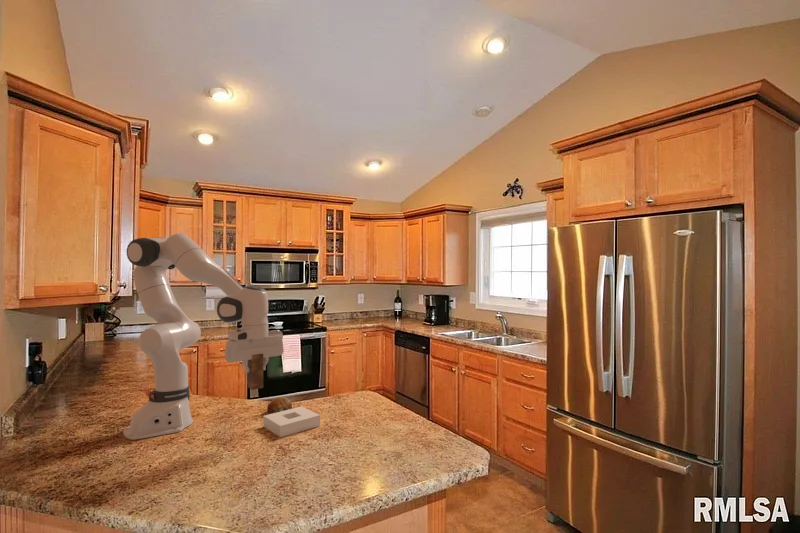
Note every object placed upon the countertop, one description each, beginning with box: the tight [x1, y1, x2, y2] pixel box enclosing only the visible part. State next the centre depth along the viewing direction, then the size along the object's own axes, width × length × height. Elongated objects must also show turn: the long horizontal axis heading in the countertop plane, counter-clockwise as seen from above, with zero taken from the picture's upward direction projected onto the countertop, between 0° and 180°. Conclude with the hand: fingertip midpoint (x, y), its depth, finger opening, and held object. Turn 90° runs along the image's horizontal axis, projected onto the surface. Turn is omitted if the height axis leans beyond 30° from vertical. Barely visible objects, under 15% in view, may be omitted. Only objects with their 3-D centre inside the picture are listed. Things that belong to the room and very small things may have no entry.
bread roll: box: [266, 396, 293, 415], centre depth 174 cm, size 10×10×8 cm
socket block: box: [262, 406, 321, 438], centre depth 158 cm, size 16×14×4 cm
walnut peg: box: [247, 354, 264, 391], centre depth 149 cm, size 4×4×12 cm
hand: (255, 371), depth 149 cm, fingers closed on walnut peg, 4 cm apart
